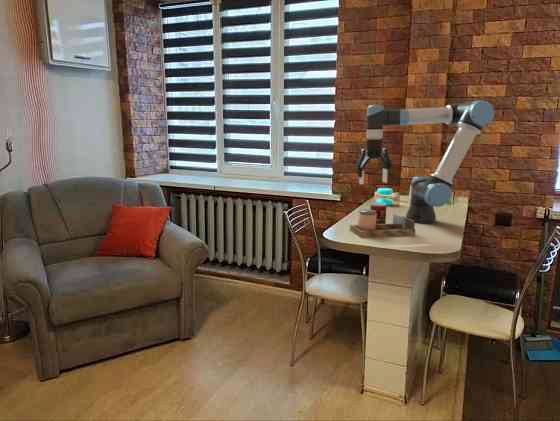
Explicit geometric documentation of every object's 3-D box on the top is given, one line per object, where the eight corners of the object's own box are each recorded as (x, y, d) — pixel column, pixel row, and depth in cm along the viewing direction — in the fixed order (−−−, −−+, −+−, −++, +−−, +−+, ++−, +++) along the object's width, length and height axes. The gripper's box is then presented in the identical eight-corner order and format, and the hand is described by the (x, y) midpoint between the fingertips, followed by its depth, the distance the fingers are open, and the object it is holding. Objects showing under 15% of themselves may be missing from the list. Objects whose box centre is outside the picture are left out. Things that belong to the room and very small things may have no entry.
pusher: (400, 228, 204) (401, 214, 202) (410, 233, 194) (411, 218, 193) (392, 228, 203) (393, 214, 201) (402, 233, 193) (403, 218, 192)
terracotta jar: (371, 230, 200) (372, 209, 198) (378, 234, 192) (379, 212, 190) (354, 231, 198) (355, 209, 196) (361, 235, 190) (362, 212, 188)
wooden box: (401, 230, 205) (402, 216, 204) (414, 237, 194) (415, 221, 192) (349, 232, 200) (350, 217, 199) (360, 239, 188) (360, 223, 187)
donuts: (386, 190, 266) (373, 188, 274) (385, 206, 268) (373, 204, 276) (396, 189, 273) (383, 187, 280) (395, 204, 274) (383, 202, 282)
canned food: (374, 227, 211) (375, 205, 208) (366, 224, 218) (367, 202, 216) (388, 227, 213) (389, 204, 210) (380, 223, 220) (381, 202, 218)
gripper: (390, 137, 213) (389, 180, 217) (347, 139, 203) (346, 184, 208) (400, 138, 207) (399, 182, 211) (356, 139, 197) (355, 185, 201)
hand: (373, 183), depth 209 cm, fingers open, 13 cm apart
